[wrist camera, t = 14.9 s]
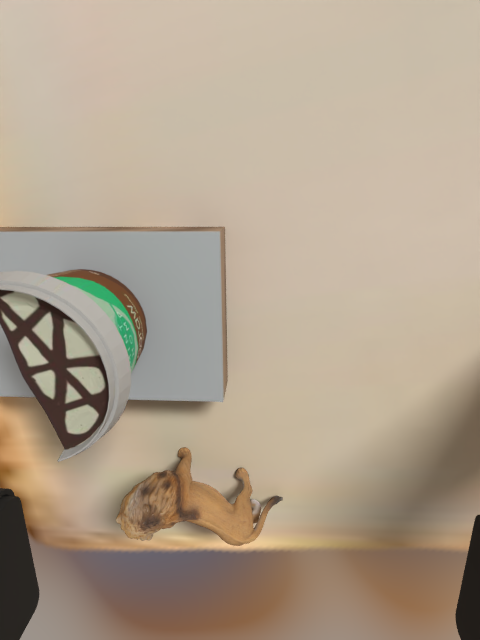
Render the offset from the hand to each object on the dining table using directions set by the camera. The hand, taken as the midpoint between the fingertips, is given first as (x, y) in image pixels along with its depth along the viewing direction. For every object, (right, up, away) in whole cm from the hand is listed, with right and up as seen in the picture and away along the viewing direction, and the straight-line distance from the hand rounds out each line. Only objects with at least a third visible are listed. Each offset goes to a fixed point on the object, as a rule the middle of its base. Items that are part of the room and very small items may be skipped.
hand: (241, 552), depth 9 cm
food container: (-10, +5, +25) cm, 27 cm away
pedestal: (-11, +6, +29) cm, 31 cm away
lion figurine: (-3, -11, +34) cm, 36 cm away
